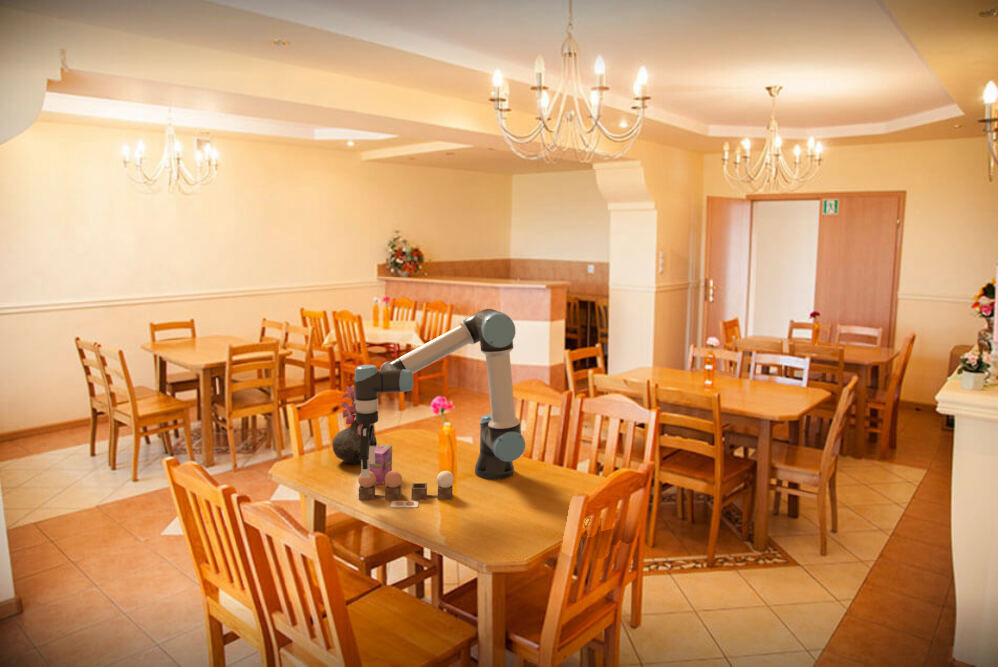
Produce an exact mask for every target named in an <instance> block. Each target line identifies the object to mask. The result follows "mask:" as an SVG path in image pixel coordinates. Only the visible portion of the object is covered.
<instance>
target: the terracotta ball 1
mask: <svg viewBox="0 0 998 667" xmlns="http://www.w3.org/2000/svg"><path fill="white" fill-rule="evenodd" d="M357 480H358V481H357V482H358V485H359V486H361V487H363V488H371V487H372V486H373V485H374V484H375V482H376V476H375V474H374V473H373V472H371V471H370V478H361V473H360V474H359V475H358V478H357ZM375 485H376V484H375Z"/></svg>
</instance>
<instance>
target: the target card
mask: <svg viewBox="0 0 998 667" xmlns="http://www.w3.org/2000/svg"><path fill="white" fill-rule="evenodd" d="M418 506H419V500H392V501H391V503H390V509H395V508H396V509H397V508H400V509H404V508H405V509H416V508H418Z"/></svg>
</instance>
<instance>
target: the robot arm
mask: <svg viewBox="0 0 998 667" xmlns="http://www.w3.org/2000/svg"><path fill="white" fill-rule="evenodd" d="M515 337H516V325H515V323H514V321H513V320H512V319H511V318H510V316H509V315H507V314H506V313H504V312H501V311H498V310H496V309H492V308H484V309H482V310H480V311H478V312H476V313H474V314H472V315H471V316H469V317H467V318H465V319H463V320H461V321H460V323H459V325H458V326H456V327H454V328H452V329H450V330H449V331H447V332H445V333H443V334H441V335H439V336H438V337H435V338H433V339H432V340H430V341H428V342H425V343H424V344H422V345H421V346H418V347H417V348H414V349H413V350H411V351H409V352H407V353H405V354H404V355H402V356H400V357H398V358H396V359H395V360H394V359H393V360H390V361H386V362H384V363H383V364H382V365H381V367H379V368H380V369H379V370H378V367H377V366H376V365H374V364H362V365H358V366H356V367H355V369H354V390H355V399H356V401H354V404H356V410H357V412H356V417H355V419H356V422H357V423H359V424H362V425H363V426H362V428H361V447H360V457H359V460H361V463H360V465H361V466H360V468H361V469H360V471H361V472H360V474H361V478H370V464H375V446H373V445H376V446H377V445H378V443H377V441H376V442H375V437H376V434H375V426H374V424H376V423H378V422H379V411H378V409H379V397H378V396H379V395H378V394H385V393H386V394H387V393H405V392H410V391H412V390H413V387H414V375H413V374H415V373H417V372H418V371H421V370H423V369H424V368H426V367H428V366H430V365H432V364H433V363H435V362H437V361H439V360H442V359H443V358H445V357H447V356H449V355H450V354H453V353H454V352H456V351H458V350H460V349H462V348H464V347H465V346H468V345H475V344H477V343H479V347H480V352H481V353H483V354H484V356H485V361H486V362H485V363H486V373H487V375H486V376H487V383H488V394H489V404H490V413H489V414H485V415H482V416H481V418H480V423H479V426H480V428H479V429H480V430H479V432H480V433H479V434H480V435H479V455H478V457H477V460H476V463H475V466H474V473H475V475H476V476H477V477H479V478H482V479H486V480H504V479H505V480H506V479H508V478H511V477H512V476H514V474H515V467H514V464H513V462H515V461H516V460H518V459H519V458H521V456H522V455H523V454H524V452H525V449H526V440H525V438H524V436H523V435H522V430H521V428H522V427H521V421H520V419H518V417H516V410H515V400H514V398H515V397H514V388H513V377H512V376H513V375H512V364H511V355H510V354H511V352H512V351H513V349H514V343H513V342H514V339H515ZM363 455H366V456H363Z"/></svg>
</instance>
